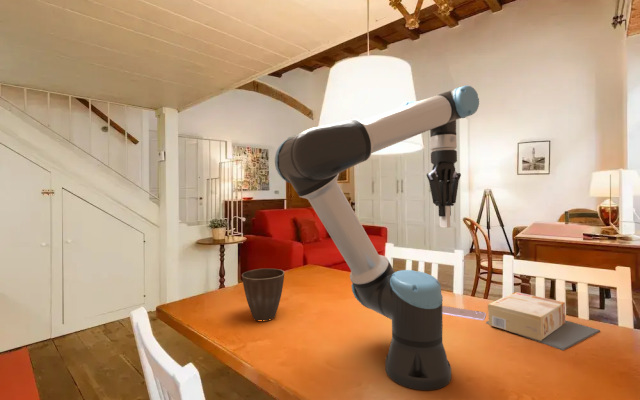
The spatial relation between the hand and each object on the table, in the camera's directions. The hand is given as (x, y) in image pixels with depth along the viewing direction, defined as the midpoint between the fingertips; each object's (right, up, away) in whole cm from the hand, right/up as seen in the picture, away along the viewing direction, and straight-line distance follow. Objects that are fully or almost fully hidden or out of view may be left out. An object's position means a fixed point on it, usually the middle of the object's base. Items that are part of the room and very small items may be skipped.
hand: (444, 227), depth 101 cm
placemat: (+31, -32, +2) cm, 44 cm away
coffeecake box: (+19, -28, -3) cm, 34 cm away
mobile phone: (+12, -32, +15) cm, 38 cm away
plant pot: (-58, -34, +15) cm, 69 cm away
